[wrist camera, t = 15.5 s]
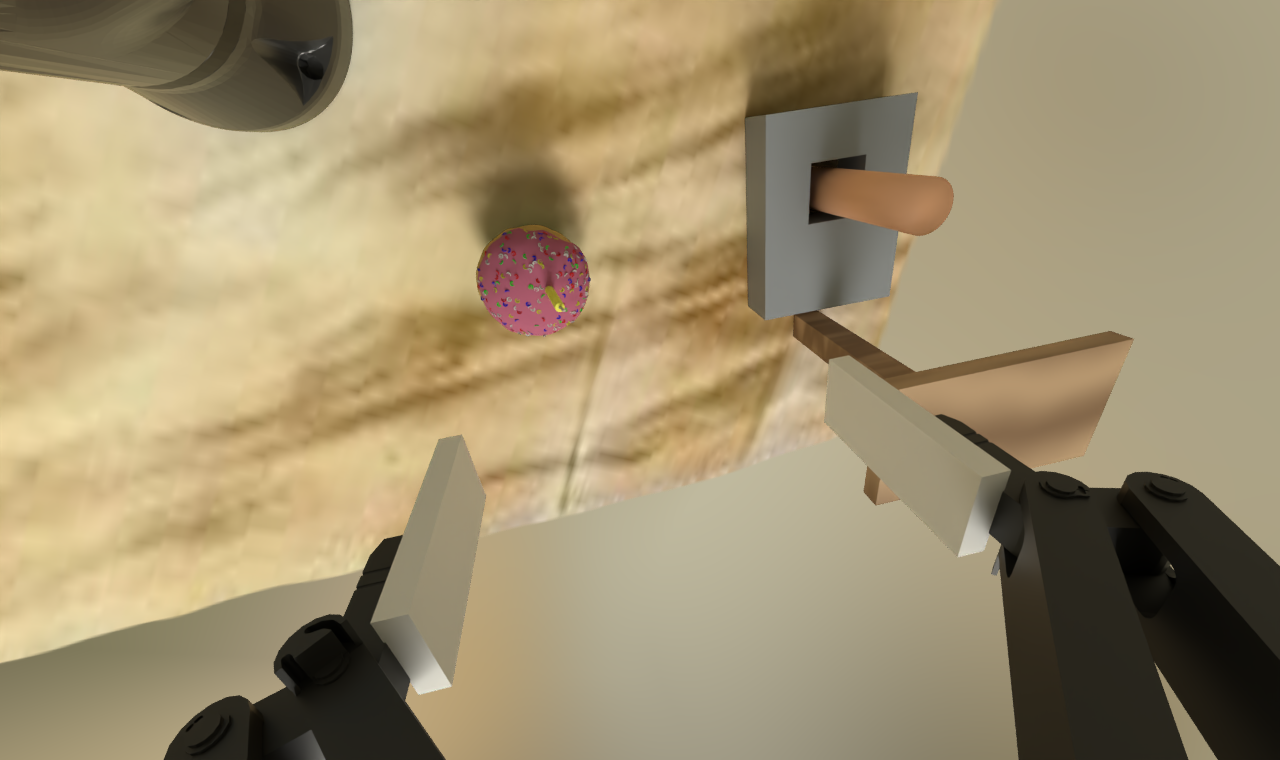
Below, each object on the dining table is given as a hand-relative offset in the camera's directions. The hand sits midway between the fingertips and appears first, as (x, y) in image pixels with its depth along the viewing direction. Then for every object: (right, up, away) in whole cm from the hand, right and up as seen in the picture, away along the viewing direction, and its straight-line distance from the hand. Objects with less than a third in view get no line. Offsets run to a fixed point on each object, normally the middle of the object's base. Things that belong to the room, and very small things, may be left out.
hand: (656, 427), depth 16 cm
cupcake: (-10, +11, +23) cm, 27 cm away
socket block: (+15, +17, +25) cm, 33 cm away
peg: (+15, +19, +24) cm, 33 cm away
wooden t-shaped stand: (+16, +9, +29) cm, 34 cm away
